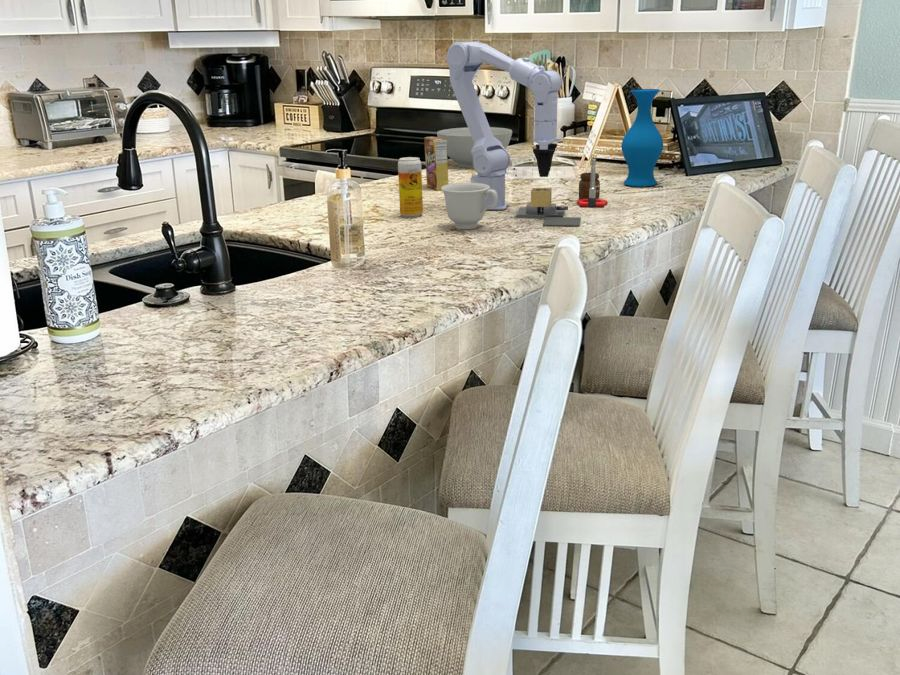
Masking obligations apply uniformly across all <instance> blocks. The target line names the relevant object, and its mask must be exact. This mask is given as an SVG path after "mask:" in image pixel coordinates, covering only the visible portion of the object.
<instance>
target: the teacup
mask: <svg viewBox="0 0 900 675" xmlns="http://www.w3.org/2000/svg"><path fill="white" fill-rule="evenodd" d="M489 188H490V186H489V185H486V184H482V183H471V182H455V183H448V185H444V186H442V187H441V189H442V190H441V191H442V192H443V196H444V201H445V209H446V214H447V217H448V218H449V220H450V222H451V221H452V222H453V223H454V228H455V229H456V230H457V229H458V230H474V229H476V228H478V226H479V225H478V223H479V221H481V220H482V219H483V217H484V216H485V212H486V211H487V209H490V208H493V207H494V206H495V205H496V204H497V201H498V195H497V192H496V191H495V190H492V189H490V190H488V189H489ZM489 194H492V195H493V197H494V200H493V202H492V204H490V205H488V206H486V207H485V205H486V199H487V198H488V197H489Z"/></svg>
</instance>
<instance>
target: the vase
mask: <svg viewBox="0 0 900 675" xmlns="http://www.w3.org/2000/svg"><path fill="white" fill-rule="evenodd" d="M630 92H631V93H632V95H633V96H634V98H635V100H636V103H637V113H636V117H635V119H634V121H633V123H632V125H631V126H630V128H629V129H628V130H627V131H626V133H625V134H624V135H623V139H622V142H621V153H622V156H623V158H624V160H625V163H626V164H627V168H628V173H627V177H626V178H625V179H624V182H623V184H624V185H625V186H629V187H638V188H639V187H640V188H645V187H653V186H655V185H657V184H658V181H657V179H656V178H655V175H654V170H655V167H656V165H657V163H658V161H659V158H660V157H661V156H662V153H663V150H664V139H663V136H662V134H661V132H660V131H659V130H658V128H657V126H656V125H655V123H654V120H653V117H652V103H653V101H654V99H655V97H656V96H657V95H658V94H659V92H661V89H658V88H657V89H656V88H640V89H639V88H638V89H635V88H634V89H631V90H630Z"/></svg>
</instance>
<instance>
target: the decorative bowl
mask: <svg viewBox="0 0 900 675" xmlns="http://www.w3.org/2000/svg"><path fill="white" fill-rule="evenodd" d="M490 129H491V131H492V134H493V136H494V137H495V138H496V139H498V140H499V141H500V142H501V143H502V145H503V147H504V149H505V150H507V148H508V146H509V144H510V141H511V139H512V135H513V130H512V129H510V128H505V127H495V126H490ZM436 135H437V136H436V137H438V138H441V139H445V140H447V157H449V158H450V159H451V160H453V161H454V162H455V163H457V167H460V168H463V167H468V168H467V169H474V166H473V156H472V153H471V151H472V148H473V146H474V141H473V139H472V136H471V134H470V131H469V129H468V126H467V127H466V126H465V127H456V128H455V127H454V128H448V129H447V128H446V129H441V130H438V131H437V132H436Z"/></svg>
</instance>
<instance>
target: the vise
mask: <svg viewBox="0 0 900 675" xmlns="http://www.w3.org/2000/svg"><path fill="white" fill-rule="evenodd" d="M566 211H569V206H567V205H565V206H563V205H557V203H551V206H550V207H531V202H530V203H527V204H526V206H520V207H519V209H518V210H517V213H516V215H515V216H516V219H545V217H565V216H564V215H565V212H566Z"/></svg>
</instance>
